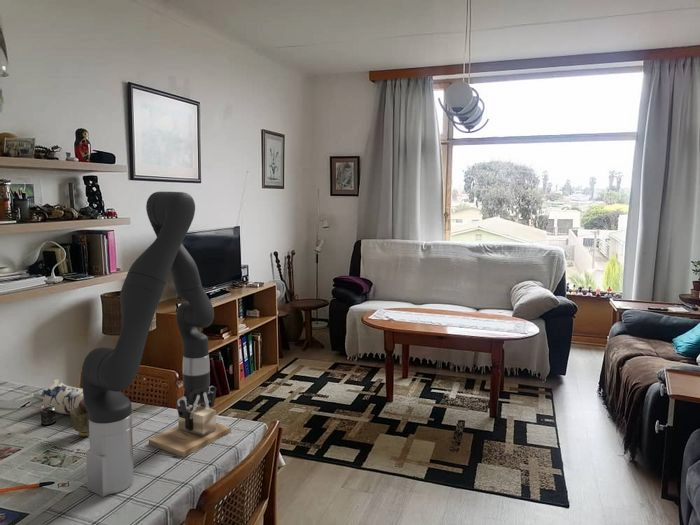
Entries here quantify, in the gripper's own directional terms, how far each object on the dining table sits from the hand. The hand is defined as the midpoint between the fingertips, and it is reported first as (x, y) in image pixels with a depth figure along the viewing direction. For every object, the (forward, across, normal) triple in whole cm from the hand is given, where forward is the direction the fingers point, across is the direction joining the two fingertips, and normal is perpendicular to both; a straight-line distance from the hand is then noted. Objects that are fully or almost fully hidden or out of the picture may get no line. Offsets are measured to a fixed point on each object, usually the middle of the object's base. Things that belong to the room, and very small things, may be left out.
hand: (197, 426), depth 147 cm
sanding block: (+1, 0, 0) cm, 1 cm away
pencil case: (+3, -10, +43) cm, 44 cm away
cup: (+3, -17, +27) cm, 32 cm away
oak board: (+3, -2, 0) cm, 4 cm away
